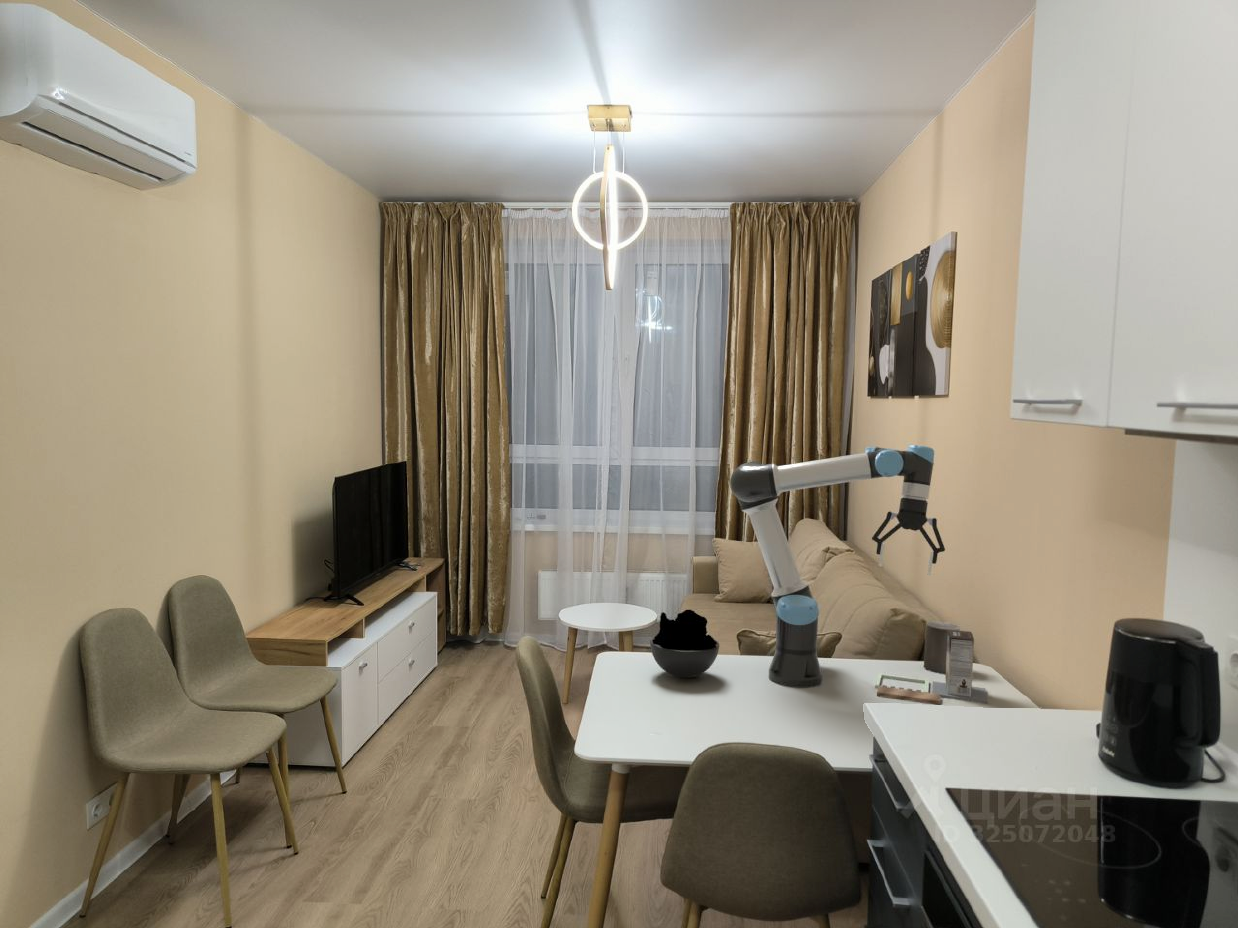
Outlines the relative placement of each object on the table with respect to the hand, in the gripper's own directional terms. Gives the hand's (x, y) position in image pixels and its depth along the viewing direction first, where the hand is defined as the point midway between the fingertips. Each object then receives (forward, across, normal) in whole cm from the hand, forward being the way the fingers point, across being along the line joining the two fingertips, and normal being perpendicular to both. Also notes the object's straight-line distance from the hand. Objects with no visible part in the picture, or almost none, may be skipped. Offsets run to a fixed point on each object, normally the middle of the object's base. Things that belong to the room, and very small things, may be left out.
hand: (904, 570), depth 235 cm
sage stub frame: (+32, -4, +3) cm, 33 cm away
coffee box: (+30, -19, +4) cm, 36 cm away
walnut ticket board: (+33, -6, +13) cm, 36 cm away
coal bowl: (+40, +55, +23) cm, 72 cm away
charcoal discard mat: (+31, -19, +4) cm, 36 cm away
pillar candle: (+29, -14, -19) cm, 38 cm away
